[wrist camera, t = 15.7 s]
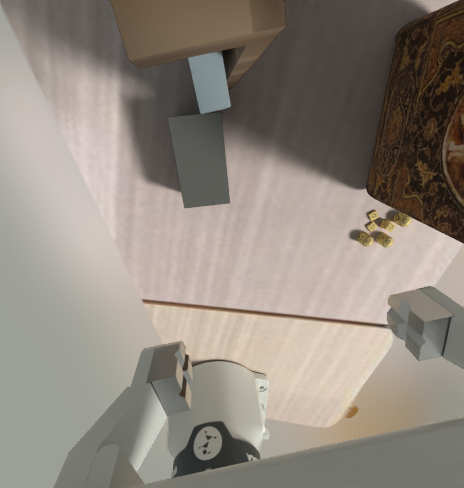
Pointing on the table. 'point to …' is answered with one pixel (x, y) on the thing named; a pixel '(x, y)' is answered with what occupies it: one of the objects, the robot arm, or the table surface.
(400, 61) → the book
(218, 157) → the block
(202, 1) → the open wooden box
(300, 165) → the table surface
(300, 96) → the table surface
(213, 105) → the door panel
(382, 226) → the dice set
